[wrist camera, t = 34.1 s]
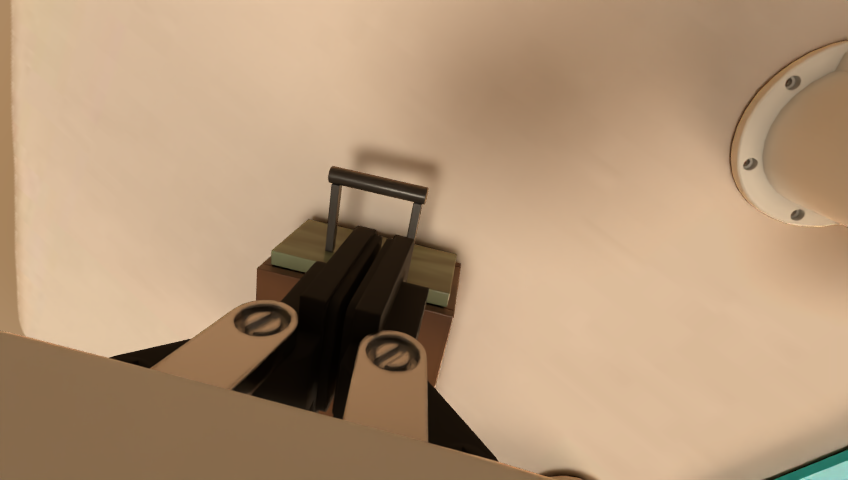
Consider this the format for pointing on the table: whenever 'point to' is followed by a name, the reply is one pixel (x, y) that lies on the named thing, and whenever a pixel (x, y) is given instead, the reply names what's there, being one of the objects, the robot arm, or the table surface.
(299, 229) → the drawer
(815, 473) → the diskette
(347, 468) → the robot arm
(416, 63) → the table surface
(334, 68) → the table surface
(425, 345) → the cabinet
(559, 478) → the donut
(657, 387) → the table surface
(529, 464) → the table surface
